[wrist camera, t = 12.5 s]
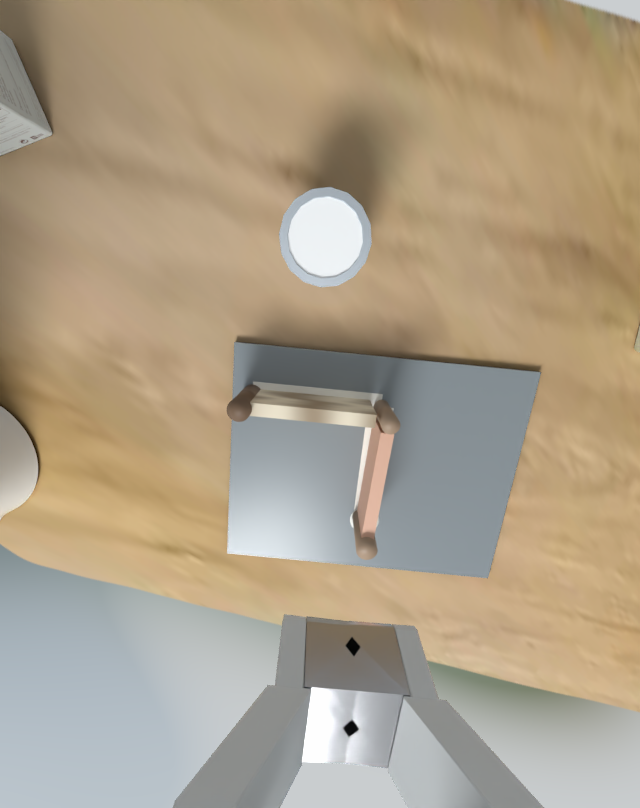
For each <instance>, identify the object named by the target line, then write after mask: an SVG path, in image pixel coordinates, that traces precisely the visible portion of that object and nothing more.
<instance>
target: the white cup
mask: <svg viewBox="0 0 640 808" xmlns="http://www.w3.org/2000/svg"><path fill="white" fill-rule="evenodd" d="M279 237H280V246H281V254H282V256H283V257H284V259H285V261H286V263H287V265H288V267H289V269H290V270H291V271H292V272H293V273H294V274H295V275H296V276H298V277H299V278H300V279H301V280H302V281H303V282H306V283H309V284H312V285H315V286H318V287H328V286H338V285H340V284H342V283H344V282H345V281H347V280H349V279H351V278H352V277H354V276H355V275H356V274H357V272H358V271H359V270H360V269H361V267H362V266H363V265H364V263H365V262H366V259H367V256H368V253H369V250H370V247H371V244H372V243H371V226H370V222H369V220H368V218H367V215H366V213H365V211H364V209H363V207H362V205H361V204H360V203H358V202H357V201H356V200H355V199H354V198H353V197H352V196H351V195H350V194H349V193H347V192H344V191H341V190H338V189H335V188H332V187H326V188H317V189H311V190H309V191H308V192H306V193H304V194H303V195H301V196H299V197H298V198H296V199H295V200H294V202H293V203H292V204H291V206H290V207H289V209H288V210H287V211H286V213H285V214H284V216H283V220H282V224H281V228H280V233H279Z"/></svg>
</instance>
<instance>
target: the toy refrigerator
mask: <svg viewBox="0 0 640 808" xmlns="http://www.w3.org/2000/svg"><path fill="white" fill-rule="evenodd" d="M634 349H635V351H637V352H640V327H639V331H638V335H637V339H636V343H635V347H634Z"/></svg>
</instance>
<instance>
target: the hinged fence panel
mask: <svg viewBox="0 0 640 808" xmlns="http://www.w3.org/2000/svg"><path fill="white" fill-rule="evenodd" d="M373 408H374V410H375V412H376V414H377V417H376V424H375V428H372V429H371V435H370V440H369V446H368V451H367V457H366V463H365V468H364V474H363V480H362V485H361V491H360V497H359V502H358V508H357V510H356V511H355V512H354V513H353V515H352V519H353V528H354V536H355V545H356V553H357V555H358V556H359V557H360V558H361V559H364V560H370V559H372V558H374V557H375V556H376V555H377V552H378V549H377V544H376V540H375V531H376V526H377V521H378V515H379V510H380V505H381V500H382V495H383V490H384V485H385V480H386V475H387V469H388V464H389V459H390V454H391V449H392V444H393V439H394V434H395V433H396V432H398V431H399V429H400V421H399V420H398V418H397V416H396V415H395V413H394V412H393V410H392V408H391V407H390V405H389V404H388V402H387V401H385V400H378V401H376V402H375V404H374V406H373Z"/></svg>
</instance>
